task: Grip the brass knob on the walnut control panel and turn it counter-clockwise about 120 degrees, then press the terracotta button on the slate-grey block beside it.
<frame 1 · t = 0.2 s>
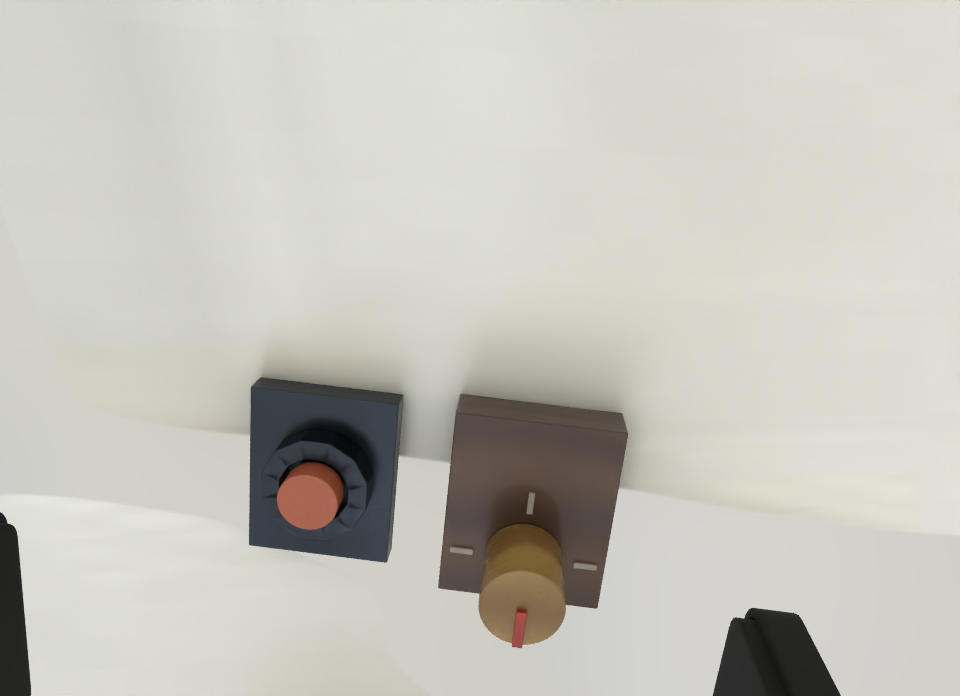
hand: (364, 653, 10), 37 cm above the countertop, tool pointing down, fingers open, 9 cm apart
panel: (529, 490, 50), on the countertop
button block: (327, 465, 50), on the countertop
knob: (522, 583, 46), point 6 cm above the countertop, hinge at 0.0°
button: (311, 495, 47), point 4 cm above the countertop, slide at 0.1 cm
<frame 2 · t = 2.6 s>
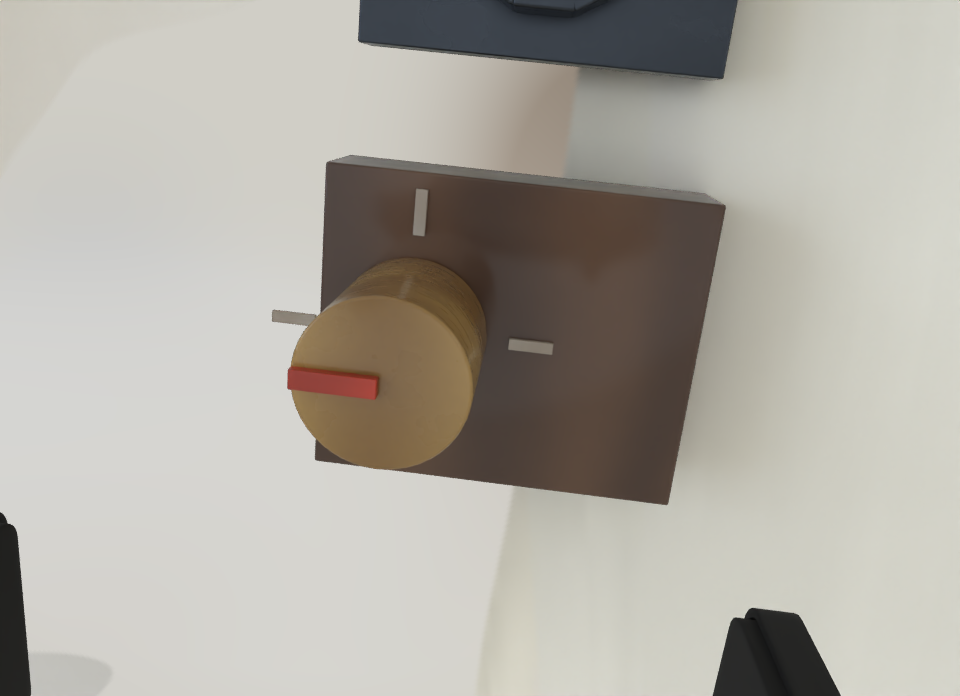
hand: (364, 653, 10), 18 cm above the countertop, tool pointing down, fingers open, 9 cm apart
panel: (509, 317, 28), on the countertop
knob: (396, 357, 23), point 6 cm above the countertop, hinge at 0.0°
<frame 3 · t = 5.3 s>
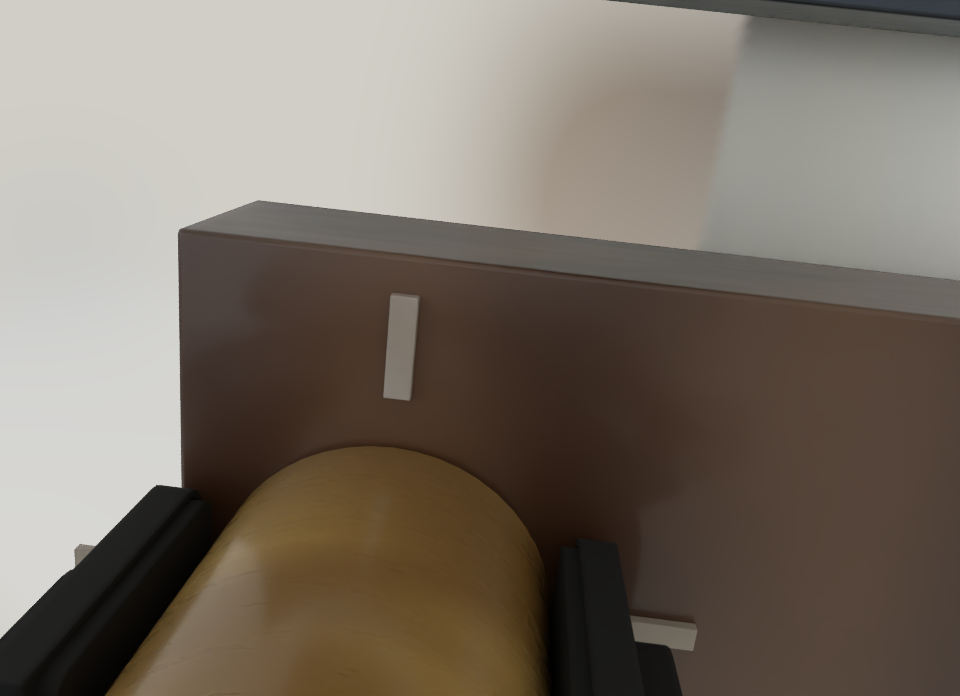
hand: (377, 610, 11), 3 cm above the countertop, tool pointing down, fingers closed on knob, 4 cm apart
panel: (578, 515, 14), on the countertop
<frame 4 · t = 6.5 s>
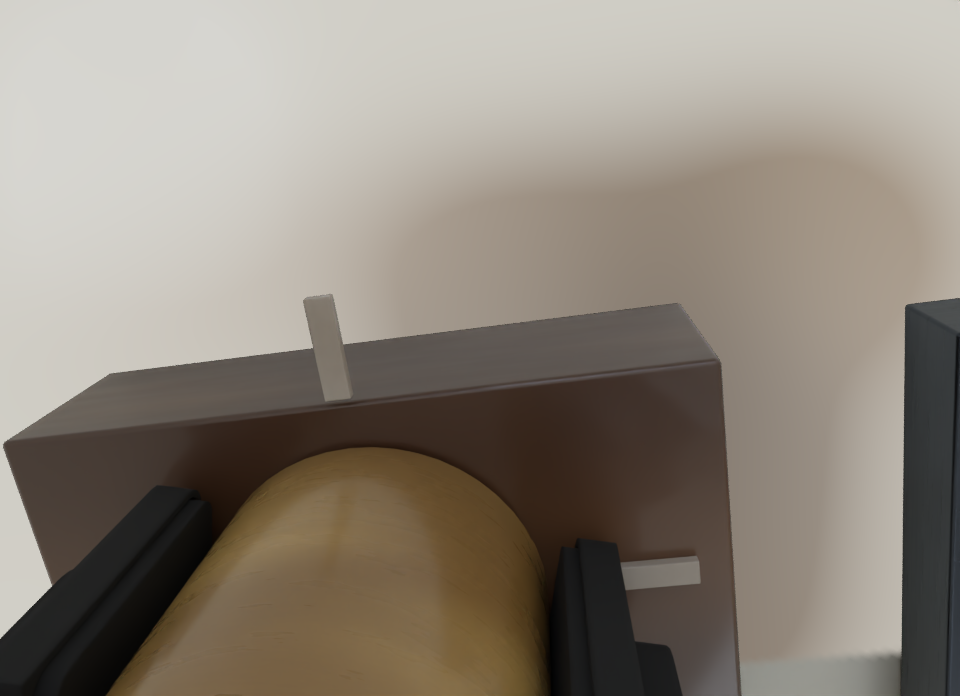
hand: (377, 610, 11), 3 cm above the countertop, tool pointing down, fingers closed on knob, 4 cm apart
panel: (439, 634, 15), on the countertop
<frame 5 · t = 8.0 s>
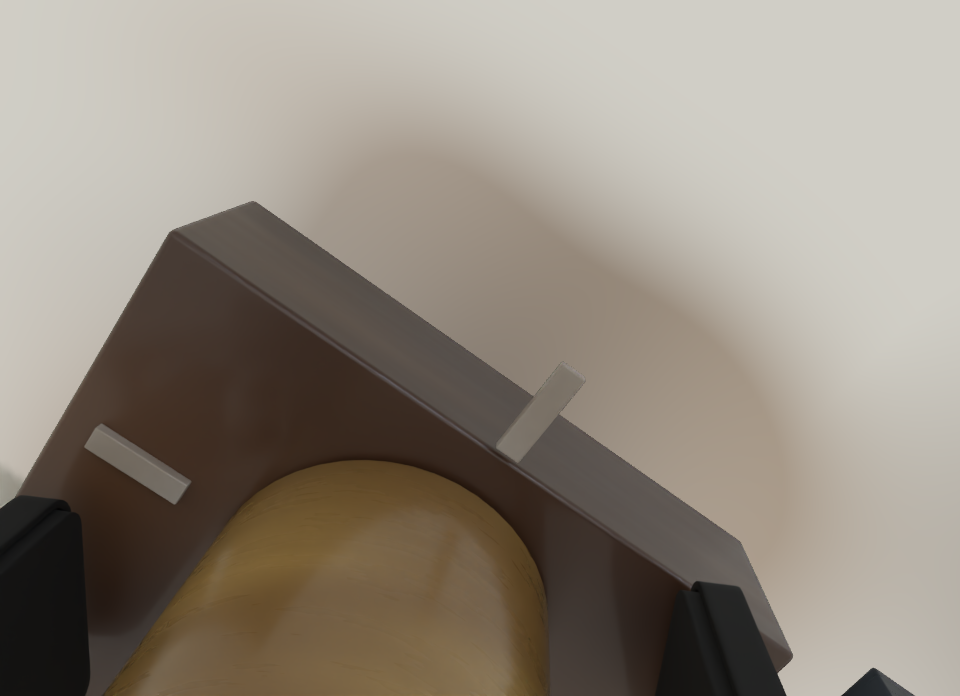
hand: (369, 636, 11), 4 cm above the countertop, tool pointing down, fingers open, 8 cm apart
panel: (319, 619, 15), on the countertop
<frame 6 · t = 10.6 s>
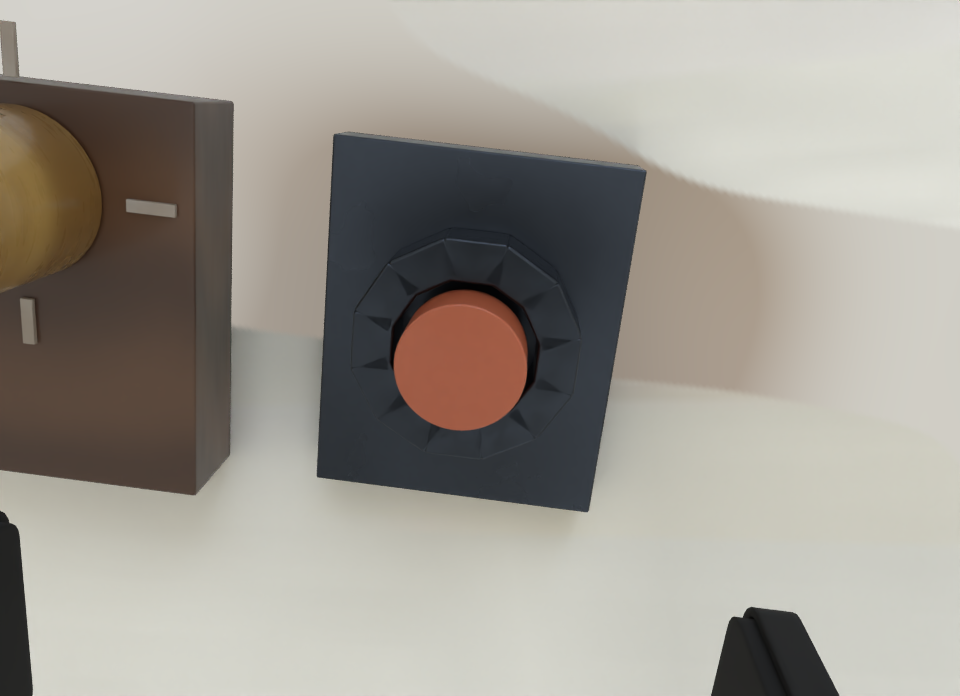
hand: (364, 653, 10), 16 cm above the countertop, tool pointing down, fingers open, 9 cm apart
panel: (83, 272, 26), on the countertop
button block: (473, 320, 26), on the countertop
button: (462, 359, 22), point 4 cm above the countertop, slide at 0.1 cm
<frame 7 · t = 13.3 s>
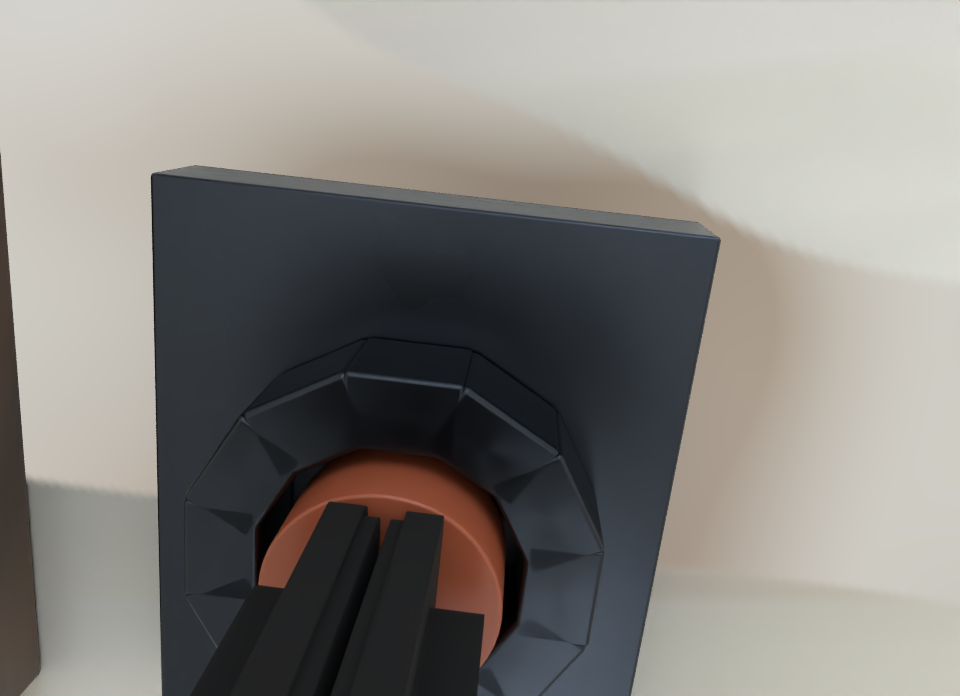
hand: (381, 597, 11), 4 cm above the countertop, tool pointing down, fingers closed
button block: (419, 474, 16), on the countertop
button: (389, 572, 12), point 3 cm above the countertop, slide at -0.5 cm, touching gripper
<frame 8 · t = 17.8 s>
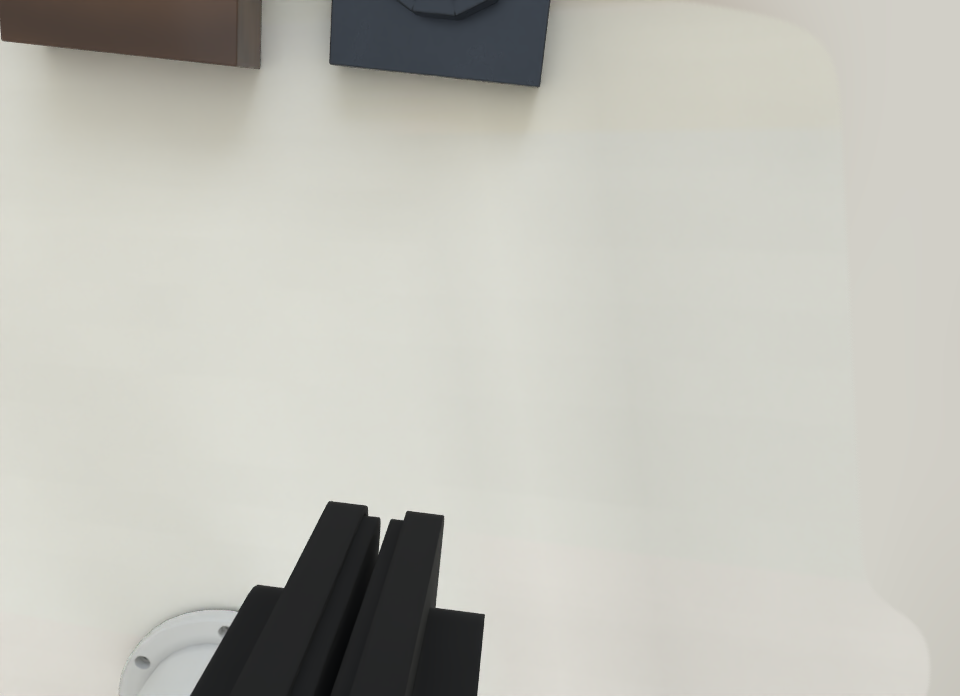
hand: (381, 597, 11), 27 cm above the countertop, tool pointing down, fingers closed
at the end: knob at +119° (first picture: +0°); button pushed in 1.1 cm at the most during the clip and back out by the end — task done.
